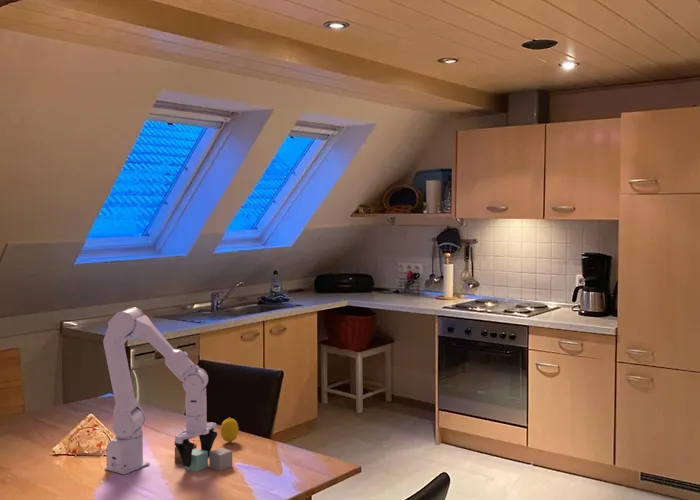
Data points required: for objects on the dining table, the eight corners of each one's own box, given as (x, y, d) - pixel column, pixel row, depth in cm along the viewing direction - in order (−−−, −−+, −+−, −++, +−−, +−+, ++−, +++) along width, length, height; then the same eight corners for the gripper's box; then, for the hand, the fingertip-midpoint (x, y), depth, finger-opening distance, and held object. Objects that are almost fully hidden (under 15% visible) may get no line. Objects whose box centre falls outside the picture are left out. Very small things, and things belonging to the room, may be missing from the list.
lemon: (234, 446, 212) (234, 420, 211) (217, 445, 213) (217, 419, 213) (241, 440, 217) (241, 415, 217) (224, 439, 218) (224, 414, 218)
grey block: (219, 471, 192) (219, 455, 192) (209, 467, 195) (209, 451, 194) (232, 466, 195) (232, 451, 195) (222, 463, 198) (221, 447, 198)
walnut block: (189, 464, 197) (189, 448, 197) (174, 462, 198) (174, 447, 198) (196, 459, 201) (196, 443, 201) (182, 457, 202) (182, 442, 202)
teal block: (196, 471, 191) (196, 455, 191) (184, 468, 193) (184, 452, 193) (207, 466, 195) (207, 451, 195) (195, 463, 197) (195, 448, 197)
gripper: (188, 422, 185) (189, 472, 186) (224, 409, 198) (224, 456, 198) (169, 418, 189) (169, 467, 189) (205, 406, 201) (205, 452, 202)
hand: (196, 461), depth 194 cm, fingers open, 7 cm apart
